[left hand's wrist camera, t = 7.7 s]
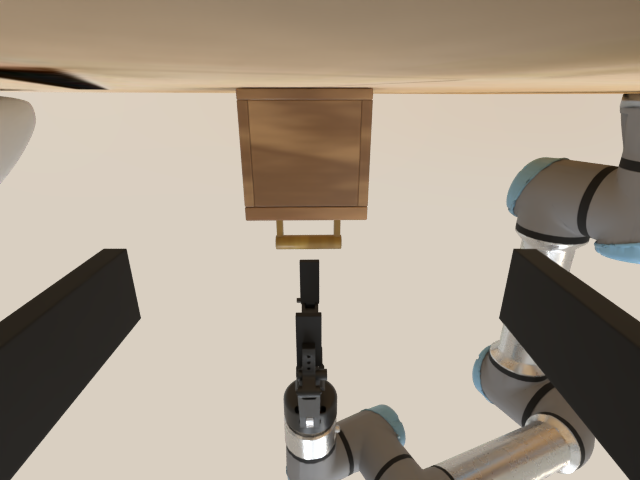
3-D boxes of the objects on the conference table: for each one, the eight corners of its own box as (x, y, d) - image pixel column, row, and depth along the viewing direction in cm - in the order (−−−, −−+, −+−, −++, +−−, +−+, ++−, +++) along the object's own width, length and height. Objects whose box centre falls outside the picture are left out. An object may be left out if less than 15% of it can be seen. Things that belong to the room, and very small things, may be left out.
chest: (352, 90, 39) (350, 172, 43) (261, 90, 39) (265, 172, 42) (373, 88, 26) (367, 206, 30) (235, 88, 26) (244, 207, 29)
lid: (349, 171, 43) (347, 238, 46) (266, 171, 43) (269, 239, 46) (367, 206, 30) (363, 299, 33) (244, 207, 29) (252, 300, 32)
